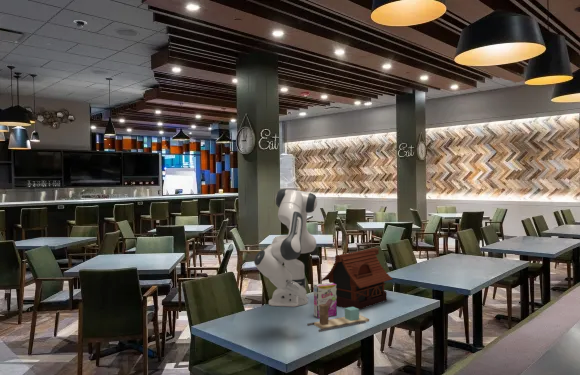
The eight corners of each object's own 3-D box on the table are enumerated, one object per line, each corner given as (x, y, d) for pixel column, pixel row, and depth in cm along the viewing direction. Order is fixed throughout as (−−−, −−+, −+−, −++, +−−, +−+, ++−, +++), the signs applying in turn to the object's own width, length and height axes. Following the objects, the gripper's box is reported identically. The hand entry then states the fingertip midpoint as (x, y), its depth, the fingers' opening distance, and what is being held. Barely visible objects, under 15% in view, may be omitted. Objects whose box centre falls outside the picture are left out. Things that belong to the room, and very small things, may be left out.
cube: (350, 320, 219) (350, 310, 219) (344, 318, 223) (344, 308, 223) (359, 319, 221) (358, 309, 221) (353, 316, 225) (353, 306, 225)
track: (319, 331, 207) (319, 330, 207) (307, 325, 217) (307, 323, 217) (365, 322, 219) (365, 321, 219) (352, 317, 229) (352, 315, 229)
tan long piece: (323, 330, 209) (323, 308, 209) (313, 324, 217) (313, 303, 217) (369, 321, 221) (368, 300, 221) (358, 316, 229) (357, 296, 229)
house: (359, 313, 235) (358, 257, 235) (319, 303, 256) (318, 252, 256) (397, 300, 259) (396, 250, 259) (358, 292, 280) (357, 246, 280)
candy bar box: (317, 318, 227) (317, 286, 227) (313, 316, 232) (312, 284, 232) (337, 316, 231) (336, 284, 231) (333, 313, 236) (332, 282, 236)
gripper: (297, 277, 197) (317, 296, 201) (277, 269, 215) (295, 287, 219) (288, 288, 195) (308, 308, 199) (268, 280, 213) (287, 298, 217)
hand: (301, 297), depth 209 cm, fingers open, 8 cm apart
